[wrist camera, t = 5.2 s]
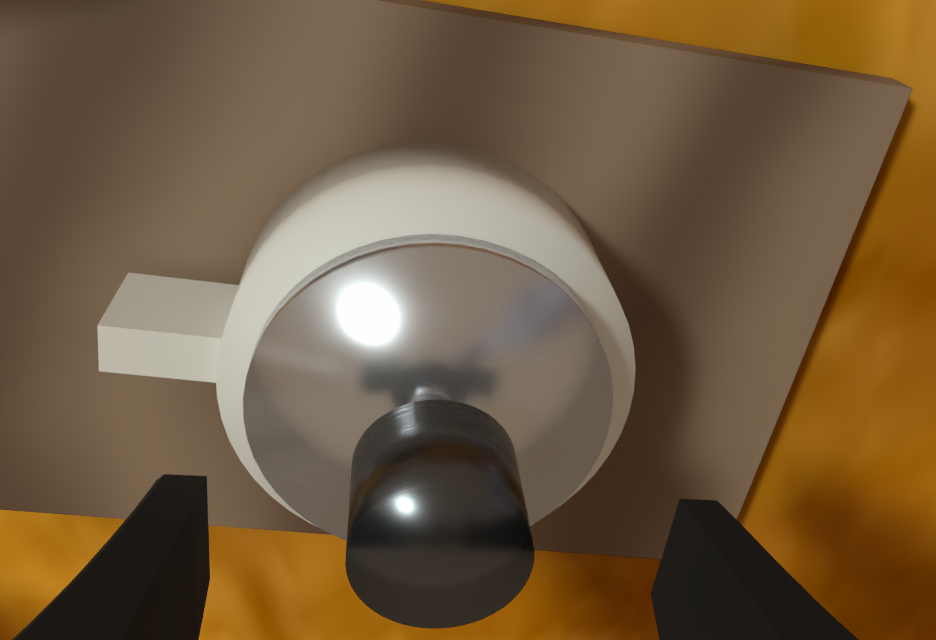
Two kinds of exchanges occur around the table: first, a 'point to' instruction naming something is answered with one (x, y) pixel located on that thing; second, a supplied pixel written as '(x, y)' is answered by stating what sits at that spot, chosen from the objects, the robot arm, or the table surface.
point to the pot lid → (429, 417)
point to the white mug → (343, 229)
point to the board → (404, 122)
